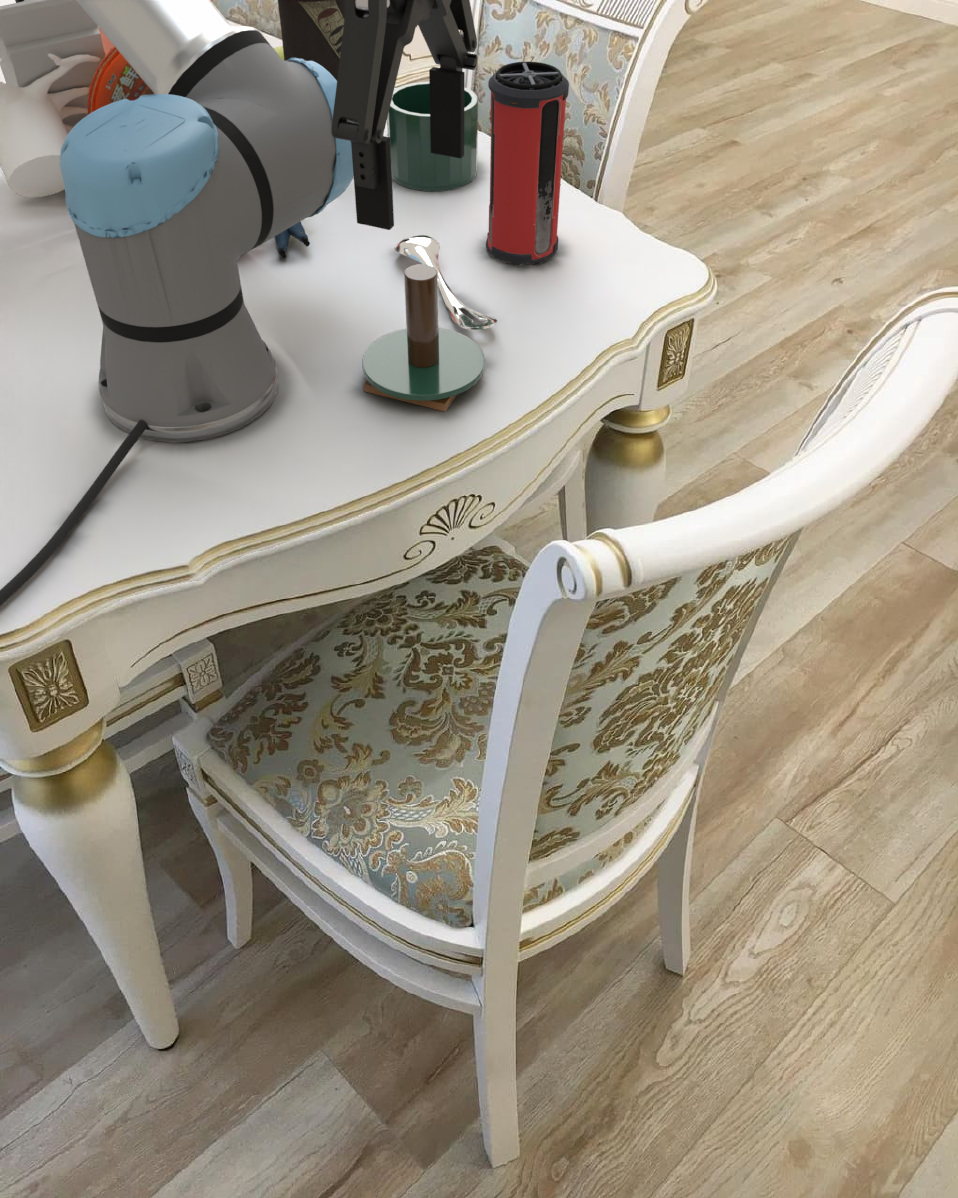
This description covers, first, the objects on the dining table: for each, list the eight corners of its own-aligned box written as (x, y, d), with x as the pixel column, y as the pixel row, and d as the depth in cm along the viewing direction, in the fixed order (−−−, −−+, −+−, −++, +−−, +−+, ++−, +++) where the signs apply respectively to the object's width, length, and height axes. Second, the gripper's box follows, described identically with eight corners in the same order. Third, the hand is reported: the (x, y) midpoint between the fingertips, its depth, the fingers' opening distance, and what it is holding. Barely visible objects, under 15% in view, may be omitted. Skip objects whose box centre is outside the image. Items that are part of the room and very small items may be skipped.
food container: (196, 36, 106) (138, -8, 110) (108, 167, 108) (54, 119, 112) (284, 120, 120) (230, 78, 124) (205, 233, 123) (154, 189, 127)
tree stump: (63, 166, 129) (88, 225, 129) (-98, 155, 114) (-70, 222, 114) (137, 61, 116) (165, 127, 115) (-35, 34, 101) (-3, 109, 101)
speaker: (481, 235, 113) (483, 59, 100) (550, 231, 114) (561, 56, 101) (491, 269, 108) (494, 89, 95) (563, 265, 109) (576, 85, 96)
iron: (-5, 46, 104) (-62, -97, 103) (34, 159, 127) (-12, 43, 127) (102, 23, 107) (48, -116, 106) (121, 138, 130) (76, 24, 129)
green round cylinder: (456, 197, 120) (456, 122, 113) (375, 181, 122) (370, 107, 116) (489, 162, 126) (491, 89, 120) (412, 148, 129) (409, 76, 123)
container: (351, 166, 125) (337, -20, 111) (280, 159, 126) (257, -26, 112) (371, 137, 131) (359, -43, 117) (303, 130, 132) (283, -49, 118)
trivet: (445, 411, 91) (445, 404, 90) (363, 391, 93) (362, 383, 92) (479, 364, 96) (479, 357, 95) (401, 346, 98) (400, 338, 97)
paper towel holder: (456, 418, 89) (455, 317, 82) (341, 389, 91) (331, 289, 84) (502, 352, 96) (505, 255, 89) (394, 327, 98) (389, 231, 92)
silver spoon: (510, 300, 96) (464, 311, 95) (510, 335, 98) (465, 346, 97) (426, 221, 109) (385, 230, 108) (428, 254, 112) (387, 263, 110)
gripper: (428, -178, 75) (433, 121, 91) (251, -100, 59) (293, 248, 74) (525, -168, 73) (513, 135, 89) (369, -85, 57) (388, 269, 73)
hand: (413, 187), depth 82 cm, fingers open, 13 cm apart
